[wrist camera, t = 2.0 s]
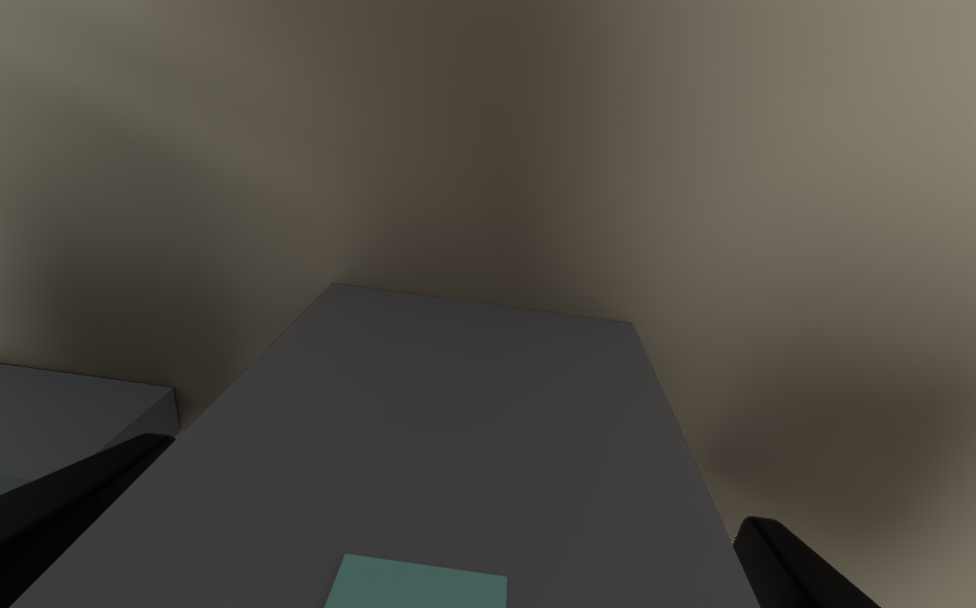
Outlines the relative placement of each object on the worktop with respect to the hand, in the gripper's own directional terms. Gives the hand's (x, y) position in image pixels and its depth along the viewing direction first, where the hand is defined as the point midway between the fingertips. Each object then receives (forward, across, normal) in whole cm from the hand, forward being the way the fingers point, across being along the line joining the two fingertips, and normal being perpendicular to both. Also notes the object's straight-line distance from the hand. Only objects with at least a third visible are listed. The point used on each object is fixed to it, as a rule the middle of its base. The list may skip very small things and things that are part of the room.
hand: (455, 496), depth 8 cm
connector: (+2, 0, 0) cm, 2 cm away
